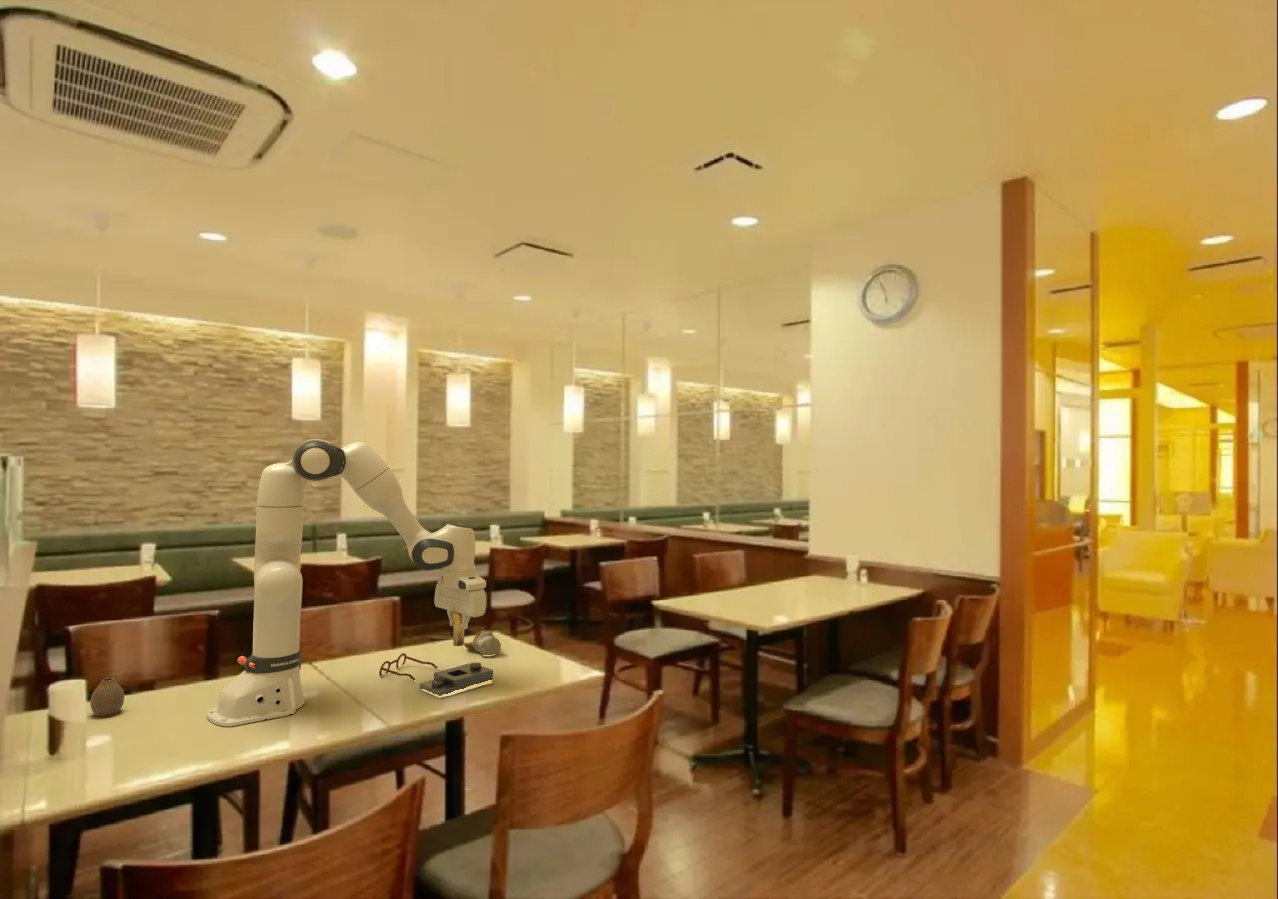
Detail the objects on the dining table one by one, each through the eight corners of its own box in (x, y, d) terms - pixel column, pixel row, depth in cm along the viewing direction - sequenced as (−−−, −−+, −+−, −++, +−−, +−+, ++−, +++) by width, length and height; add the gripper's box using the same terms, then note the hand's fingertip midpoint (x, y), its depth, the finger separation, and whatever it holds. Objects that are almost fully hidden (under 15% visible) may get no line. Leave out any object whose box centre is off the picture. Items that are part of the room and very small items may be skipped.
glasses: (403, 667, 227) (403, 651, 227) (440, 671, 224) (440, 655, 224) (378, 680, 214) (378, 663, 214) (416, 684, 211) (417, 667, 211)
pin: (456, 647, 205) (457, 608, 205) (448, 644, 208) (449, 606, 208) (468, 644, 208) (469, 606, 208) (460, 642, 211) (460, 604, 211)
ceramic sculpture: (477, 633, 234) (462, 626, 246) (477, 661, 233) (462, 652, 246) (508, 630, 239) (492, 623, 252) (508, 656, 239) (492, 648, 251)
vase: (84, 720, 178) (85, 684, 178) (97, 710, 184) (98, 675, 184) (117, 718, 180) (117, 682, 180) (128, 708, 186) (129, 674, 186)
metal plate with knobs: (440, 699, 198) (440, 680, 198) (419, 690, 205) (420, 672, 205) (492, 683, 212) (493, 666, 212) (472, 676, 218) (472, 658, 218)
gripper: (429, 576, 212) (428, 622, 213) (471, 585, 199) (470, 635, 199) (447, 573, 217) (446, 619, 217) (490, 582, 204) (489, 631, 204)
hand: (458, 627), depth 208 cm, fingers closed on pin, 3 cm apart
